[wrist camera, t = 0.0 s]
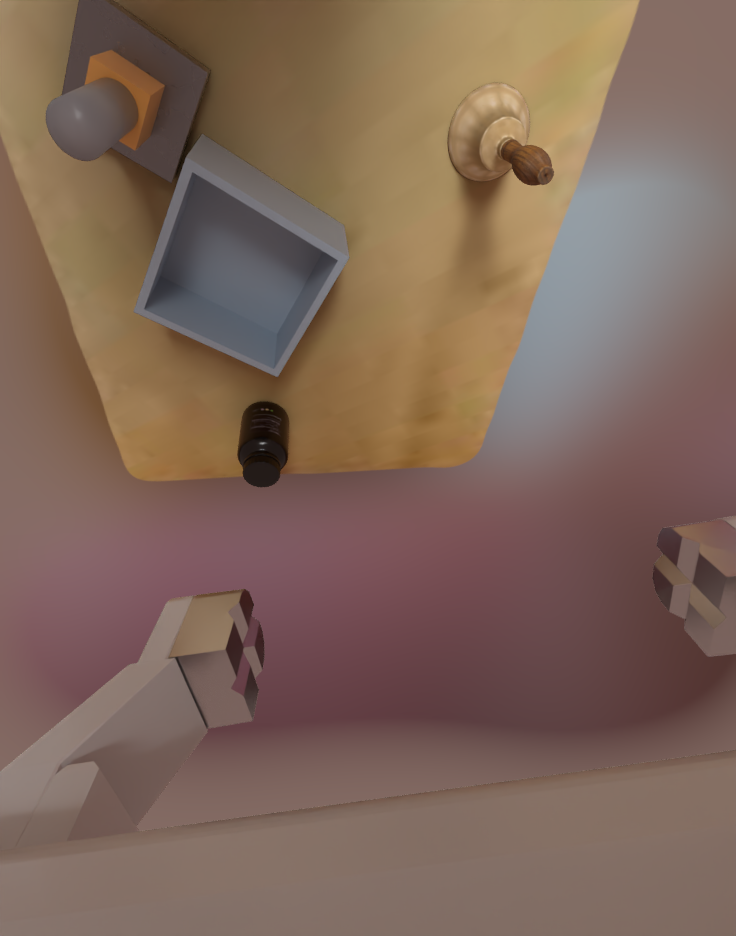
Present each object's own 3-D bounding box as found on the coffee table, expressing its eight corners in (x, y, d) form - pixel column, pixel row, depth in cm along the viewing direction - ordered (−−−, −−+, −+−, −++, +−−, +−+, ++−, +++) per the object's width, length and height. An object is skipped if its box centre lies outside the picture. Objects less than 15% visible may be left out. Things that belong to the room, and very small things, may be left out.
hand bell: (472, 66, 45) (528, 93, 34) (545, 103, 47) (620, 139, 36) (434, 163, 50) (471, 215, 39) (501, 192, 53) (555, 248, 42)
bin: (202, 133, 47) (186, 156, 40) (344, 225, 54) (349, 257, 47) (153, 274, 56) (133, 312, 49) (280, 337, 63) (277, 377, 56)
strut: (111, 49, 40) (44, 71, 30) (164, 85, 42) (119, 117, 32) (99, 104, 43) (33, 142, 33) (150, 136, 45) (103, 180, 34)
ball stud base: (89, -16, 39) (61, -17, 34) (211, 70, 43) (200, 79, 39) (65, 112, 45) (38, 126, 40) (175, 177, 49) (162, 196, 44)
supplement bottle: (287, 437, 75) (284, 495, 66) (241, 433, 73) (233, 491, 65) (291, 402, 70) (289, 459, 61) (243, 396, 69) (234, 454, 60)
